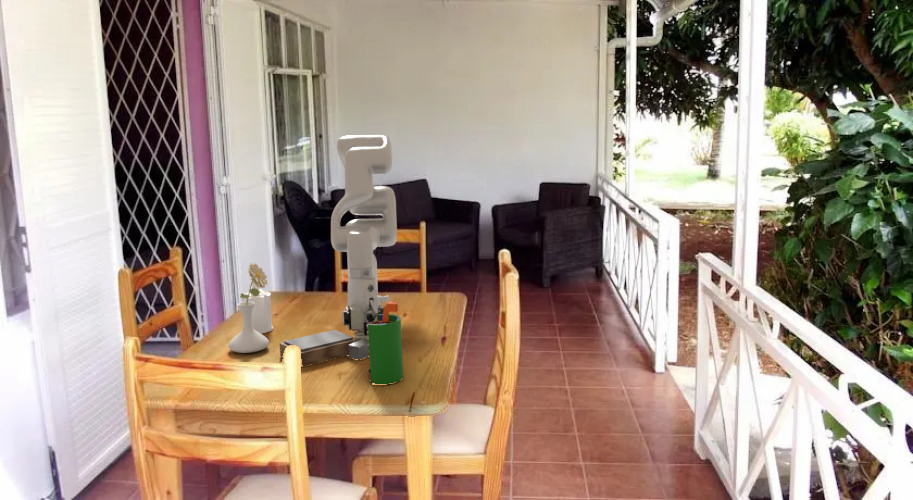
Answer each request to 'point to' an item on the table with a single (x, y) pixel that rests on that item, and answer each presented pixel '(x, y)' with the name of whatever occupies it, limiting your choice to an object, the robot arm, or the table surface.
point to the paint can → (260, 310)
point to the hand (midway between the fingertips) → (363, 331)
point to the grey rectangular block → (358, 349)
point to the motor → (385, 347)
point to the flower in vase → (248, 336)
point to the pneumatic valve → (357, 320)
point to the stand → (320, 346)
